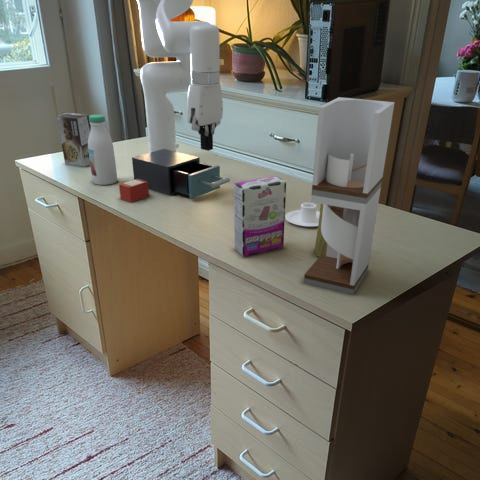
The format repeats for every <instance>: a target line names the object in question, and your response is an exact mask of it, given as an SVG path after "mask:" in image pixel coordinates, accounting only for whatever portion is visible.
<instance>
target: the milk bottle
mask: <svg viewBox="0 0 480 480" xmlns="http://www.w3.org/2000/svg"><path fill="white" fill-rule="evenodd" d="M89 121H90V126H91V131H90V135H89V138H88V152H89V159H90V165H89V166H90V172H91V173H90V174H91V179H92V182H93V184H95V185H100V186H109V185H113V184H115V183H117V182H118V173H117V165H116V155H115V150H114V144H113V139H112V138H111V136H110V133H109V132H108V130H107V128H106V117H105V115H104V114H91V115H89Z"/></svg>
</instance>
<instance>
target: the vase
mask: <svg viewBox="0 0 480 480" xmlns="http://www.w3.org/2000/svg"><path fill="white" fill-rule="evenodd" d="M319 211H320V216H319V224H318V226H317V232H316V233H317V234H316V239H315V246H314V251H313V253H314V255H315V256H316V257H317V258H319V257H320V256H321V255H322V254H326V252H327V242H326V241H325V239H324V238H323V236H322V233H321V222H322V213H323V204H320V207H319Z"/></svg>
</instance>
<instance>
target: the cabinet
mask: <svg viewBox="0 0 480 480" xmlns="http://www.w3.org/2000/svg"><path fill="white" fill-rule="evenodd" d="M194 161H195V162H199V163H201V161H200V157H199V156H195V155H191V154H188V153H183V152H179V151H176V152H175V151H171V150H167V149H161V150H158V151H154V152H150V151H149V152H147V153H143V154H140V155H136V156H133V157H131V162H132V172H133V180H134V179H140V180H143V181H147V182H148V191H149V190H150V191H153V192H156V193H159V194H163V195H166V196H172V195H176V194H179V193H178V192H175V191H172V190H171V179H170V169H172V168H175V167H178V166H181V165H185V164H188V163H191V162H194Z"/></svg>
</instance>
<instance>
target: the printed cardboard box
mask: <svg viewBox="0 0 480 480" xmlns="http://www.w3.org/2000/svg"><path fill="white" fill-rule="evenodd" d="M89 116H90V114H85V113H76V112H75V113H74V112H66V113H63V114H59V115H57V116H56V123H57V129H58V133H59V138H60V143H61V148H62V149H61V150H62V154H63V158H64V164H65V165H70V166H71V165H72V166H77V167H88V166H90V159H89V152H88V138H89V135H90V131H91V124H90V121H89Z"/></svg>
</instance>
